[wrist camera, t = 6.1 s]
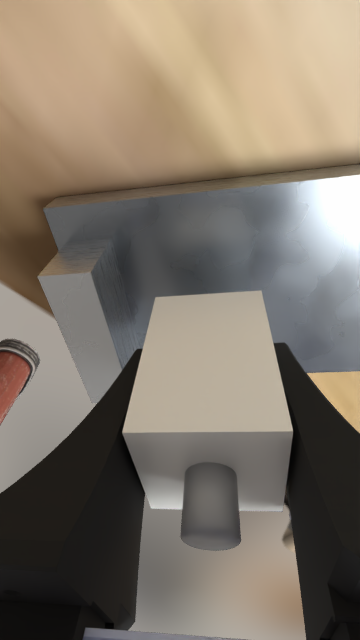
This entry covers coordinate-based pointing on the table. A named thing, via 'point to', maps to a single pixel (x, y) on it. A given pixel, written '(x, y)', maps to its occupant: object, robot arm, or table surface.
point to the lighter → (15, 371)
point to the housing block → (210, 415)
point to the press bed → (209, 263)
